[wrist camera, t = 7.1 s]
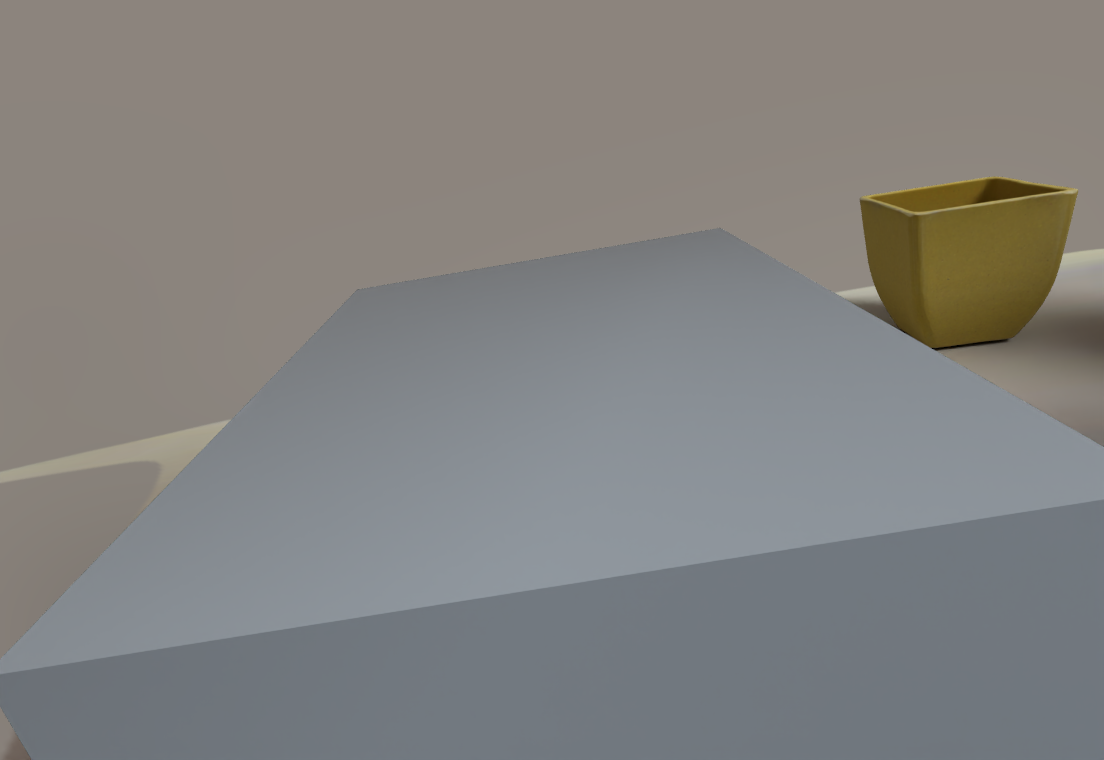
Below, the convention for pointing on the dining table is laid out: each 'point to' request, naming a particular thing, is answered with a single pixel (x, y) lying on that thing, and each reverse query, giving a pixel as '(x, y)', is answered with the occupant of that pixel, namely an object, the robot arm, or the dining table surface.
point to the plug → (597, 541)
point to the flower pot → (966, 255)
